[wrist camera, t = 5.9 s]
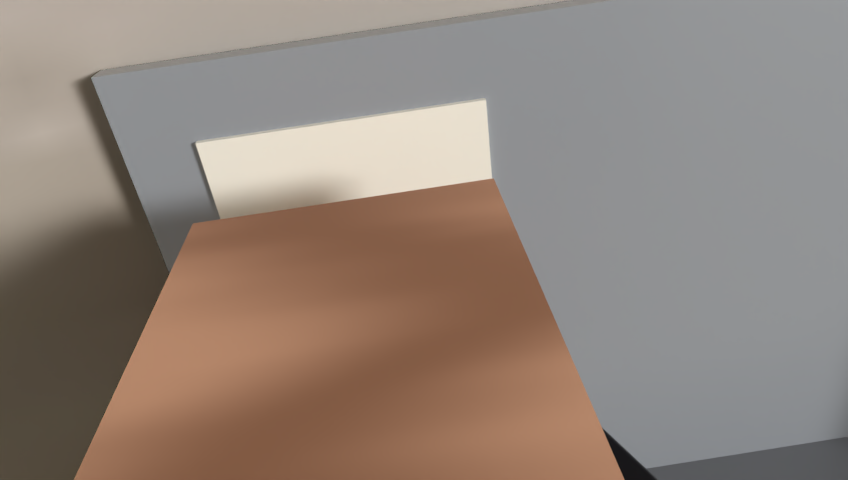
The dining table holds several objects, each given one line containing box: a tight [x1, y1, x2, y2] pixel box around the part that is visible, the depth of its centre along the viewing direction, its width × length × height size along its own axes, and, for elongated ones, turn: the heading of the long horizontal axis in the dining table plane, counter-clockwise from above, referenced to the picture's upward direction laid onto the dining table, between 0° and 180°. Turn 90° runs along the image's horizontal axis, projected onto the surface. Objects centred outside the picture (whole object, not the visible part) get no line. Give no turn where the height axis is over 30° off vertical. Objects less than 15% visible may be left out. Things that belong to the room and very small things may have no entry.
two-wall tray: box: [91, 0, 848, 480], centre depth 11 cm, size 12×18×3 cm, turn 97°
